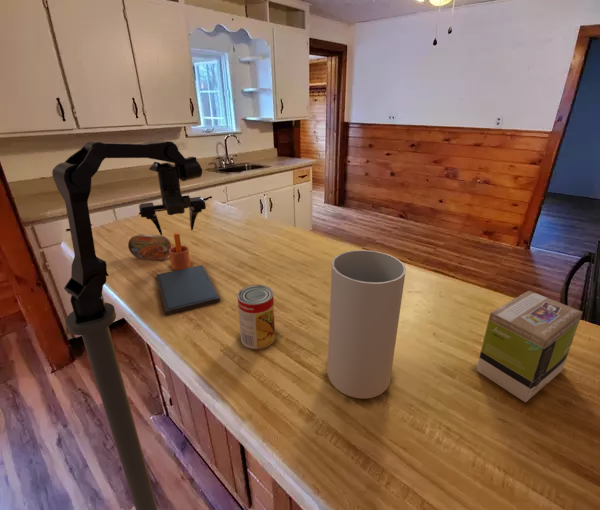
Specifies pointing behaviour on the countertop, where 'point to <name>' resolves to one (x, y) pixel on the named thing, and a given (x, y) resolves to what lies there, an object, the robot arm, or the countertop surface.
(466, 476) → the countertop surface
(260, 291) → the canned food
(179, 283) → the tablet
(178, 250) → the stylus
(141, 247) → the tin
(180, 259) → the pen cup
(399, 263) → the cylinder vase
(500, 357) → the tea box
